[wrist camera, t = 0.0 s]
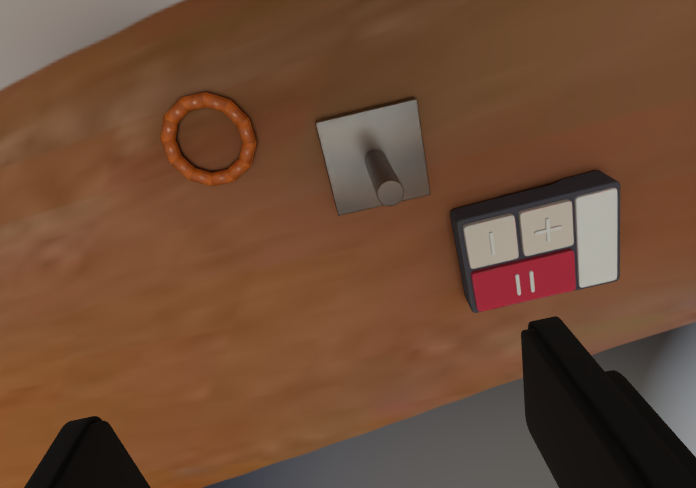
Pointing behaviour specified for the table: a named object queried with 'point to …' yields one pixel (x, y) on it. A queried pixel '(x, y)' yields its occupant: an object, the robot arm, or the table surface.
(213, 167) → the table surface
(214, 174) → the orange ring
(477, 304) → the calculator
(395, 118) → the post
